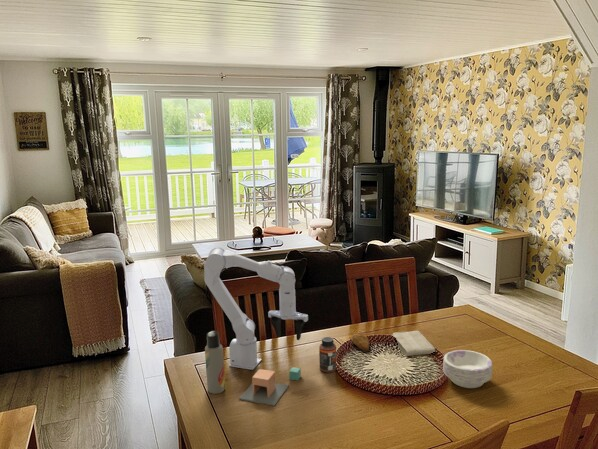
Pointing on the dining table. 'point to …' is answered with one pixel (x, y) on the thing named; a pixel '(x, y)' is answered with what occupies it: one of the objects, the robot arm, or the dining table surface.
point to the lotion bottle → (214, 363)
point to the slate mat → (264, 394)
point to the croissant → (361, 341)
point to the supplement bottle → (327, 355)
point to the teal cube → (295, 373)
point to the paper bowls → (467, 368)
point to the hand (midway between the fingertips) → (288, 337)
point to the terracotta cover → (264, 381)
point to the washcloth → (413, 343)
